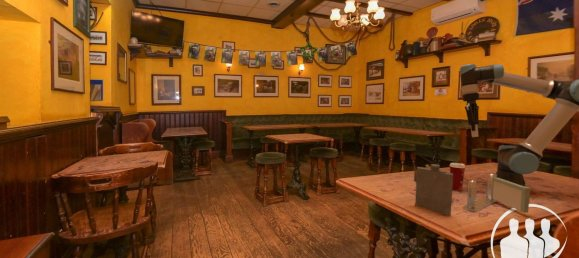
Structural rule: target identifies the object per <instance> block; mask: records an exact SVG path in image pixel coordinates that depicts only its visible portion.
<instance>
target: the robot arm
mask: <svg viewBox="0 0 579 258" xmlns="http://www.w3.org/2000/svg"><path fill="white" fill-rule="evenodd" d="M459 76H460V82H461V83H460V84H461V89H460V90H461V91H462V101H463V102H466V104H465V106H464V109H465V113H466V119H467V122H468V124H467V125H468V126H470V131H471V138H475V137H476V138H478V137H479V129H478V125H479V124H480V123H479V121H480V119H479V111H480V110H479V109H480V107H479V105H478V103H477V101H479V100H480V93H479V84H478V83H487V84H492V85H497V86H501V87H504V88H505V87H506V88H510V89H514V90H519V91H523V92H527V93H532V94H537V95H541V96H542V97H543V98H546V99H550V100H554V101H555V104H554V106H552V107H551V109H550V110H549V112H547V114H546V115H545V116H544V118H543V119H541V121H540V122H539V123H538V125H537V126H536V127H535V128H534V129H533V131H531V133H530V134H529V135H528V137H527V138H526V139H525V140H524V141H523V142H520V143H517V145H499V146H498V150H497V152H498V153H497V165H496V166H497V169H496V172H495V174H497V178H500V179H503V180H506V181H509V182H512V183H515V184H518V185H521V186H524V187H527V185H526V182H525V177H524V175H529V174H530V175H531V174H532V173H534V172H536V171H537V170H538V169H539V166H540V160H541V159H542V158H543V152H544V150H545V149H546V148H547V146H548V145H549V144H550V143H551V142H552V140H554V138H556V136H557V135H558V134H559V132H560V131H561V130H563V128H564V126H566V124H567V123H568V122H570V120H571V119H572V118H573V116H574V115H576V113H578V112H579V79H573V80H555V79H549V80H545V79H539V78H534V77H531V76H525V75H521V74H520V75H519V74H515V73H512V72H511V73H510V72H506V71H505V68H504V65H502V64H501V63H498V64H491V65H485V66H479V67H478V66H477V65H476V64H475V63H468V64H464V65H462V66H460V67H459Z"/></svg>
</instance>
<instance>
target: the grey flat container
mask: <svg viewBox="0 0 579 258" xmlns="http://www.w3.org/2000/svg"><path fill="white" fill-rule="evenodd" d="M425 168H429V169H431V165H430V164H428V163H427V164H425ZM413 171H414V172H413V173H414V175H413V181H414V182H416V178H417V168H415V169H414V170H413Z"/></svg>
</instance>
